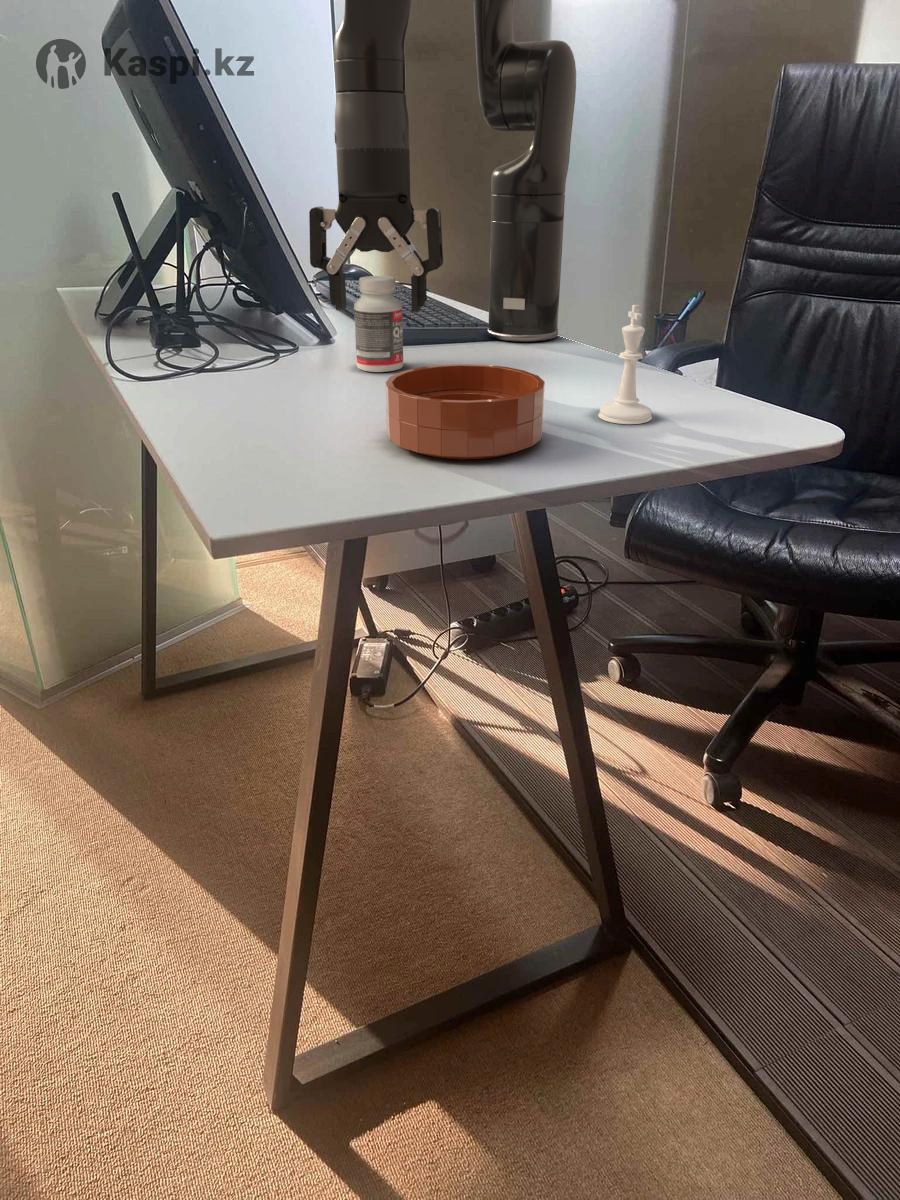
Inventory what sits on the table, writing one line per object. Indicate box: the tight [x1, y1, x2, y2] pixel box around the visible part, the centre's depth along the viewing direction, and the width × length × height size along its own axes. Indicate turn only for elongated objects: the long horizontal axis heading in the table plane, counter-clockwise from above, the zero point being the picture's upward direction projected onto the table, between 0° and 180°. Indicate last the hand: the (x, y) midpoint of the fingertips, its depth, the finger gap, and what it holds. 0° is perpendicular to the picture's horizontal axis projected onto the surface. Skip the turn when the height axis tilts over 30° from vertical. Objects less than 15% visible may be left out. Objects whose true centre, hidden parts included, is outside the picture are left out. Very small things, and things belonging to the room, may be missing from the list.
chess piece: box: [598, 304, 653, 425], centre depth 78 cm, size 5×5×10 cm
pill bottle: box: [353, 275, 404, 373], centre depth 96 cm, size 5×5×10 cm
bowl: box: [384, 363, 546, 460], centre depth 73 cm, size 13×13×5 cm
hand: (378, 310), depth 95 cm, fingers open, 8 cm apart
